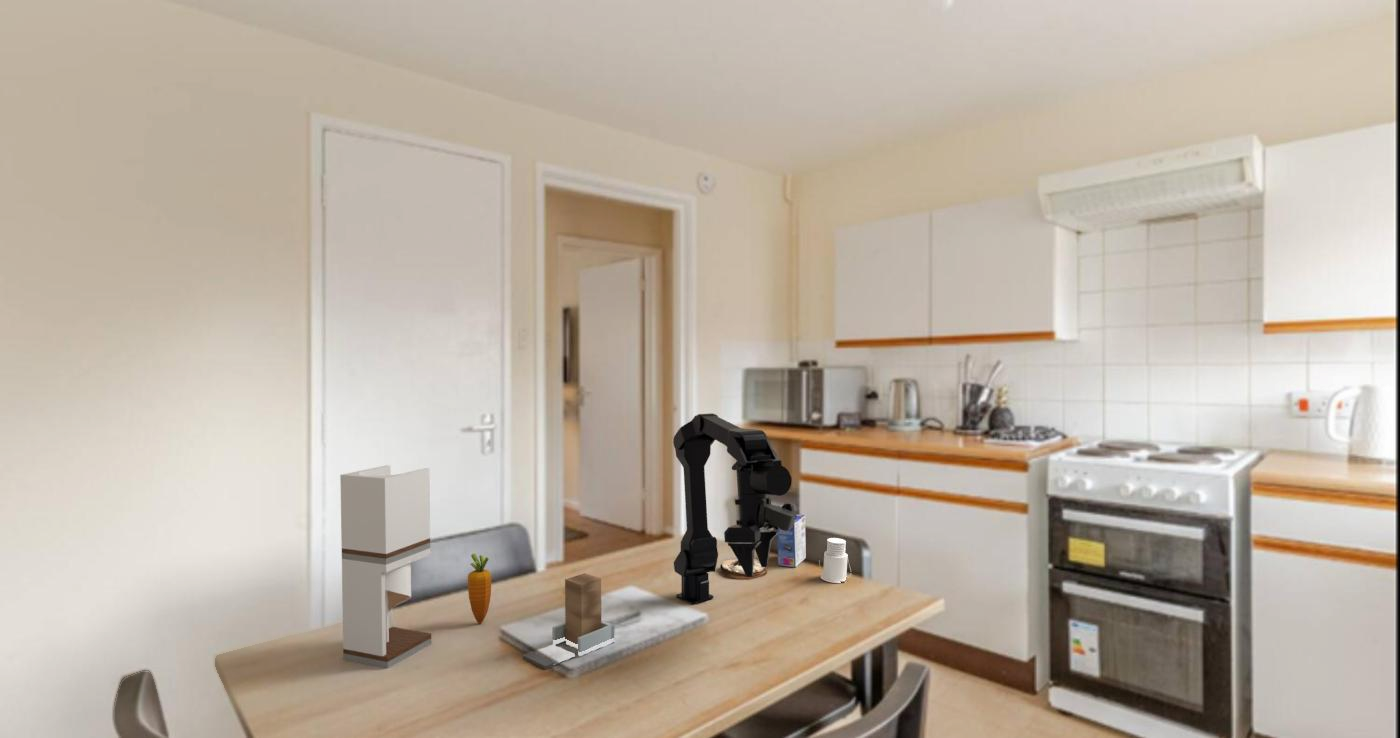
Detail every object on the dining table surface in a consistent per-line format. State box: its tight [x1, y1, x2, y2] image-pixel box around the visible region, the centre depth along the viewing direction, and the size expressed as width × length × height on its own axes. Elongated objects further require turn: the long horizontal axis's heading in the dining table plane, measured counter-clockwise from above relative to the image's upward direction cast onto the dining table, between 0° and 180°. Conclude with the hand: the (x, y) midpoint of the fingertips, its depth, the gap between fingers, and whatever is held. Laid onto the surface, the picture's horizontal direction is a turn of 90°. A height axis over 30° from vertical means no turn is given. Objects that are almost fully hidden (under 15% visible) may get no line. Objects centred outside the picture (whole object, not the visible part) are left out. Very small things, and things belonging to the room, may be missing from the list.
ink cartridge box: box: [776, 513, 807, 568], centre depth 192 cm, size 10×6×14 cm, turn 155°
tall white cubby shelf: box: [339, 464, 432, 669], centre depth 136 cm, size 11×11×35 cm
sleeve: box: [522, 619, 615, 670], centre depth 137 cm, size 16×9×4 cm, turn 139°
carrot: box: [467, 553, 492, 625], centre depth 149 cm, size 5×5×15 cm
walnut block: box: [564, 572, 602, 644], centre depth 139 cm, size 5×5×13 cm
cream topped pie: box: [719, 558, 769, 580], centre depth 184 cm, size 15×15×4 cm
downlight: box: [818, 537, 852, 584], centre depth 178 cm, size 8×7×10 cm
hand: (757, 571), depth 140 cm, fingers open, 9 cm apart
